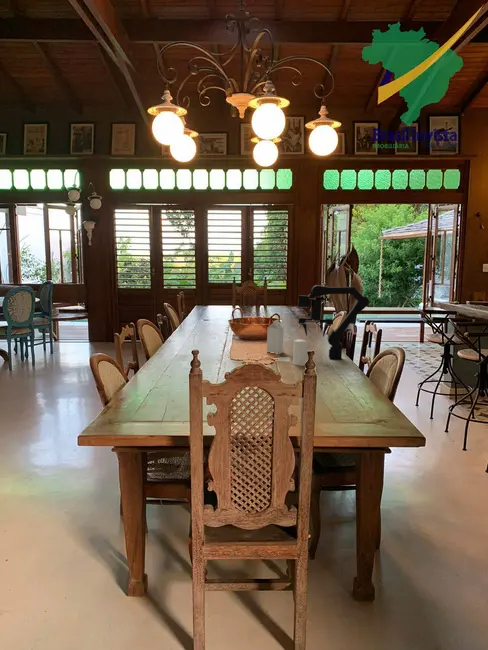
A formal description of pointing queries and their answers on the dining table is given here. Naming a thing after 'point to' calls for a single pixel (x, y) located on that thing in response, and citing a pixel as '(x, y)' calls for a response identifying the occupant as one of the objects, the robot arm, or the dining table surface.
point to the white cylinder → (300, 352)
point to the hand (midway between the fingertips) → (314, 336)
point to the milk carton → (275, 337)
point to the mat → (284, 359)
